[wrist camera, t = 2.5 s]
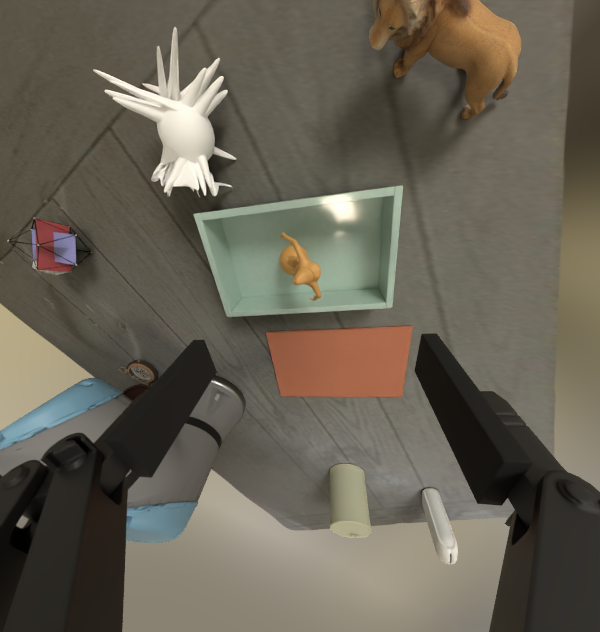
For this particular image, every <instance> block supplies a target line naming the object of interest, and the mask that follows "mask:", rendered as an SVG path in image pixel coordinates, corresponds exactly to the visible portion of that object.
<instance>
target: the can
mask: <svg viewBox="0 0 600 632" xmlns="http://www.w3.org/2000/svg"><path fill="white" fill-rule="evenodd" d="M329 473H330V529H331V531H333V532H334V533H335V534H338V535H340V536H343V537H349V538H363V537H366V536H369V535H370V534H371V532H372V530H371V525H370V518H369V510H368V502H367V494H366V486H365V473H364V471H363V470H362V469H361V468H360V467H358V466H356V465H352V464H338V465H335V466H333V467H332V468H331V469H330V471H329Z"/></svg>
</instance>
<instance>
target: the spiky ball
mask: <svg viewBox="0 0 600 632" xmlns="http://www.w3.org/2000/svg"><path fill="white" fill-rule="evenodd" d="M219 62H220V58H218V59H217V60H216V61H215V62H214V63H213V64H212V65H211V66H210V67H209V68H208V69H207V70H206V68H203V69H202V70H201V71H200V73H199V74H198V75H197V77H196V78H195V80H194V81H193V82H192V83H191V84H189V85H188V86H187V87H186V88H185V89H184V90H183V91H182V92H180V91H179V69H178V37H177V29H176V27H174V30H173V36H172V46H171V60H170V75H169V79H168V88H166V81H165V75H164V68H163V62H162V56H161V51H160V48H159V46H158V47H157V66H158V82H159V87H157V86H154V85H150V84H143V83H142V84H143V85H144V86H145V87H147V88H149V89H150V90H152V91H154V92H156V93H158V94H159V95H156V94H153V93H150V92H147V91H144V90H141V89H139V88H136V87H134V86H132V85H130V84H128V83H126V82H123V81H121V80H119V79H117V78H115V77H112V76H110V75H108V74H106V73H103V72H101V71H98V70H93V71H94V72H96V73H97V74H98V75H100V76H102V77H103V78H105V79H107V80H108V81H110V82H111V83H113V84H115V85H117V86H119V87H121V88H122V89H124V90H126V91H128V92H130V93H131V94H133V95H135V96H137V97H138V98H140V99H138V98H135V97H131V96H128V95H125V94H122V93H118V92H114V91H110V90H105V92H106V93H107V94H109V95H110V96H112V97H113V100H115V101H116V102H118V103H120V104H121V105H122V106H124V107H126V108H128V109H130V110H132V111H134V112H136V113H139V114H141V115H143V116H145V117H147V118H149V119H151V120H153V121H155V122H157V129H158V133H159V136H160V139H161V141H162V143H163V152H162V158H161V162H160V164H159V165H158V167H157V168H156V170H155V171H154V173H153V176H152V178H151V180H152V181H153V182H156V181H158V180H161V186H162V185H163V186H164V185H165V188H164V192H165V193H166V192H167V194H168V195H169V196H170V194H171V190H172V189H173V186H187V187H190V188H191V189H192V190H193V192H194V189H196V191H197V190H199V183H200V186H201V188H202V191H203V193H204V195H205V196H206V183H205V179H206V182H207V184H208V186H209V189H210V191H211V193H212V195H213V196H216V195H217V193H218V189H219V185H221V186H228V187H232V186H231V185H227V184H224V183H217V182H214V180H213V176H212V174H211V173H210V172H209V167H208V162H207V161H208V160H209V159H210V157H211V156H212V154H215V155H218V156H222V157H225V158H229V159H233V160H236V158H235V157H234V156H232V155H230V154H228V153H226V152H224V151H222V150H220V149H218V148H217V147H215V137H214V131H213V128H212V125H211V123H210V121H209V119H208V116H209V114H210V113H211V112H212V111H213V110H214V109H215V108H216V106H217V105H218V104H219V103H220V102H221V101H222V100H223V98H224V97H225V96H226V94H227V93H228V91H227V90H224V91H222V92H220V93H218V94H217V92H218V90H219V88H220V86H221V84H222V82H223V79H224V77H223V76H221V77H219V78H218V79H217V80H216V81H215V82H214V83H213V84H212V85H211V86H210V87H209V88H208V89H207V90H206V88H207V86H208V84H209V83H210V81H211V79H212V77H213V75H214V73H215V71H216V69H217V67H218V64H219ZM205 90H206V91H205ZM141 99H142V100H141ZM197 177H198V178H197ZM198 180H199V182H198ZM232 188H233V187H232ZM197 193H198V191H197ZM198 195H199V194H198ZM199 197H200V196H199Z"/></svg>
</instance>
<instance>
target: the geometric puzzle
mask: <svg viewBox="0 0 600 632" xmlns="http://www.w3.org/2000/svg"><path fill="white" fill-rule="evenodd" d="M34 222H35V230H34V229H32V228H33V224H34ZM28 224H29V223H28ZM28 224H27V225H28ZM33 224H32V228H31V229H30V230H31V234H32V251H33V258H32V257H31V258H32V259H33V263H32V268H34V269H36V270H37V271H38V270H39V271H41V272H43V273H48V274H53V275H58V274H62V273H67V272H72V271H71V266H73V265H77V252H76V236H77V235H75V234H76V233H75V232H74V231H73V230H72V229H71V230H72V231H73V232H74V235H72V233H71V234H70V226H66V225H61V224H57V223H53V222H48V221H44V220H40V219H35V218H34V221H33ZM27 225H26V226H27ZM21 230H22V229H21ZM21 230H20V231H21ZM20 231H19V232H20ZM25 233H26V232H25ZM23 234H24V233H23ZM21 235H22V234H21ZM19 236H20V235H19ZM13 237H14V236H13ZM13 237H12V238H13ZM17 237H18V236H17ZM12 238H11V240H12ZM15 238H16V237H15ZM13 239H14V238H13ZM79 240H80V241H81V239H80V238H79ZM8 242H10V243H11V242H15V241H10V240H8ZM81 242H82V241H81ZM17 243H22V242H17ZM82 243H83V242H82ZM25 244H30V243H25ZM83 244H84V243H83ZM13 245H14V244H13ZM14 246H15V245H14ZM85 246H86V245H85ZM86 247H87V246H86ZM17 248H18V247H17ZM20 250H21V249H20ZM21 251H22V250H21ZM77 251H82V250H77ZM84 252H89V251H84ZM90 252H91V251H90ZM24 253H25V252H24ZM91 253H92V252H91ZM89 254H90V253H89ZM89 254H88V255H89ZM88 255H87V256H88ZM28 256H29V255H28ZM87 256H86V257H87ZM86 257H85V258H86ZM85 258H84V259H85ZM36 259H37V261H36ZM84 259H82V260H81V261H80V262H79V263H81V262H82V261H83V260H84ZM71 264H73V265H71ZM73 269H74V268H73ZM73 269H72V270H73Z"/></svg>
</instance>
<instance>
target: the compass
mask: <svg viewBox="0 0 600 632" xmlns="http://www.w3.org/2000/svg"><path fill="white" fill-rule="evenodd" d="M120 368H121V367H119V370H120ZM122 368H124V367H122ZM120 371H121V370H120ZM124 371H125V372H126V373H128V372H129V375H130V376H131V377H132V378H133V379H134V380H136V381H138V382H141V383H142V384H139V385H135V386H132V387H130V388H128V389H126V390H125V391H124V393H123V394H124V395H125V396H127V397H128V398H129V399H131V400H132V401H133V400H134V399H135V398H136V397H137V396H138V395H140V394H141V393H142V392H144V391H145V390H147V389H150V388H151V387H149V386H148V384H147V383H153V382H154V381H155V380H156V379H157V377H158V374H157V371H156V370H155V368H154V367H153V366H152V365H150V364H149V363H147V362H145V361H141V360H134V361H132V362H130V363H129V364H128V366H127V369H126V368H125V370H124ZM121 372H122V371H121ZM122 373H124V372H122Z"/></svg>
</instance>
